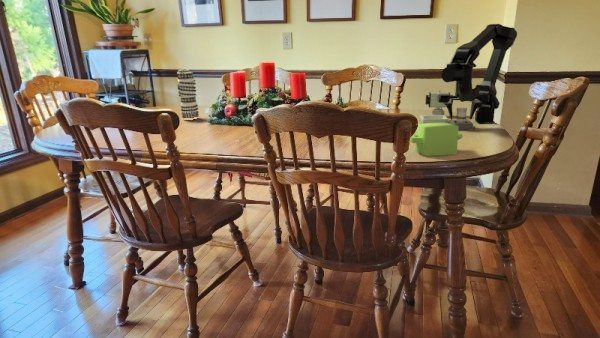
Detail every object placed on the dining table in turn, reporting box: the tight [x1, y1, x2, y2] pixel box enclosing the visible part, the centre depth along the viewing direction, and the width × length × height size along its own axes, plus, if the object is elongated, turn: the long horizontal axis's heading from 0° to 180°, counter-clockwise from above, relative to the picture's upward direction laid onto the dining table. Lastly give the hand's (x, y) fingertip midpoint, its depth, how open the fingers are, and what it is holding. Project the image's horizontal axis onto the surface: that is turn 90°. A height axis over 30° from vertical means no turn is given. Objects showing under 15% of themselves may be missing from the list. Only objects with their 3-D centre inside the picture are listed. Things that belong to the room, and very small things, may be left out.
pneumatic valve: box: [424, 89, 454, 115], centre depth 187 cm, size 6×12×12 cm, turn 75°
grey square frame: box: [448, 119, 474, 131], centre depth 165 cm, size 8×8×2 cm
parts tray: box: [419, 114, 449, 124], centre depth 176 cm, size 10×9×3 cm
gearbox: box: [409, 122, 463, 157], centre depth 134 cm, size 18×10×10 cm, turn 97°
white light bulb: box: [455, 107, 468, 123], centre depth 165 cm, size 4×4×8 cm
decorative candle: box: [176, 68, 200, 119], centre depth 207 cm, size 9×9×25 cm
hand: (460, 119), depth 165 cm, fingers open, 7 cm apart
